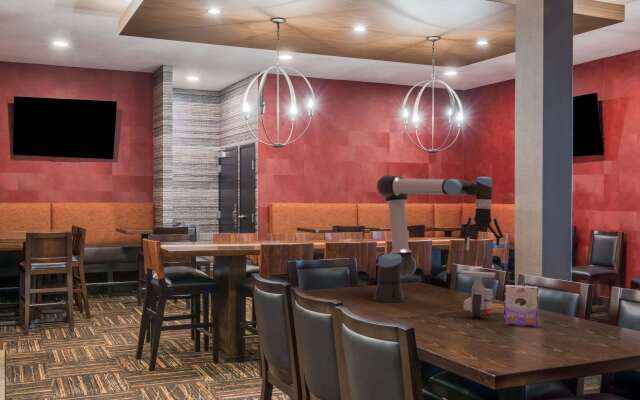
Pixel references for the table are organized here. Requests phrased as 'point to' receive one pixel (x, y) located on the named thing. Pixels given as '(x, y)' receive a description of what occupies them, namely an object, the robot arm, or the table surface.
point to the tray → (467, 304)
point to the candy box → (521, 305)
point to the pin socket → (498, 308)
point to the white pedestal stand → (477, 300)
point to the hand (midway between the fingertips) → (481, 251)
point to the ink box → (486, 300)
